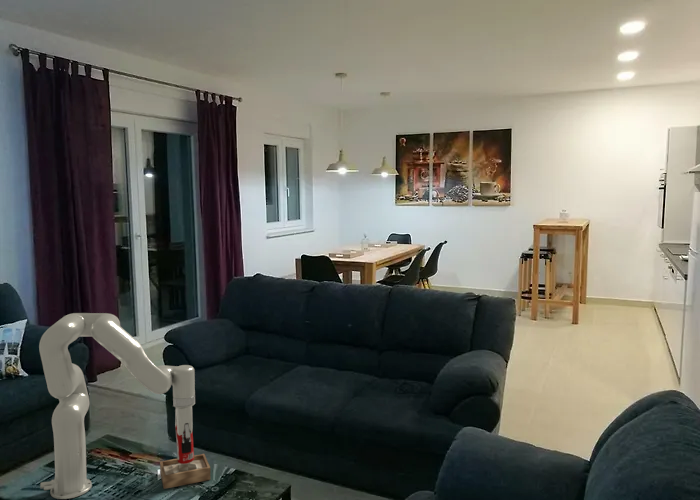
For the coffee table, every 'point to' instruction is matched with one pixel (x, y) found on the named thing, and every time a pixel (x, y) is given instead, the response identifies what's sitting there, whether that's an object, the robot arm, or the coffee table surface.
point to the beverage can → (185, 457)
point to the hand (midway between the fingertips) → (185, 448)
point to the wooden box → (184, 471)
